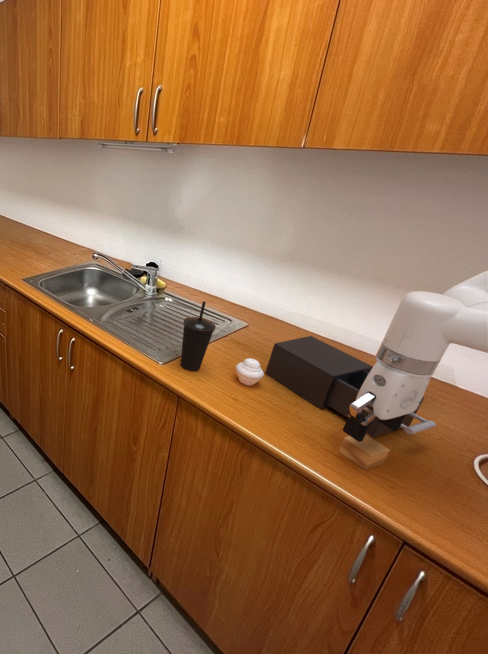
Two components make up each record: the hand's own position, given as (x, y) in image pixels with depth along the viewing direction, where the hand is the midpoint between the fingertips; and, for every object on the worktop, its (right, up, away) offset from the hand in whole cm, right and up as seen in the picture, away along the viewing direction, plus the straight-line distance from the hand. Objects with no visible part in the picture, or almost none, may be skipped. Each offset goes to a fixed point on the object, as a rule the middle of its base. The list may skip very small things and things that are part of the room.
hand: (369, 431), depth 78 cm
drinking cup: (-19, +5, +32) cm, 38 cm away
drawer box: (+7, +3, +24) cm, 25 cm away
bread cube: (+1, -6, +3) cm, 7 cm away
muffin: (-8, +3, +25) cm, 27 cm away
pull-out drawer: (+11, -1, +12) cm, 16 cm away
